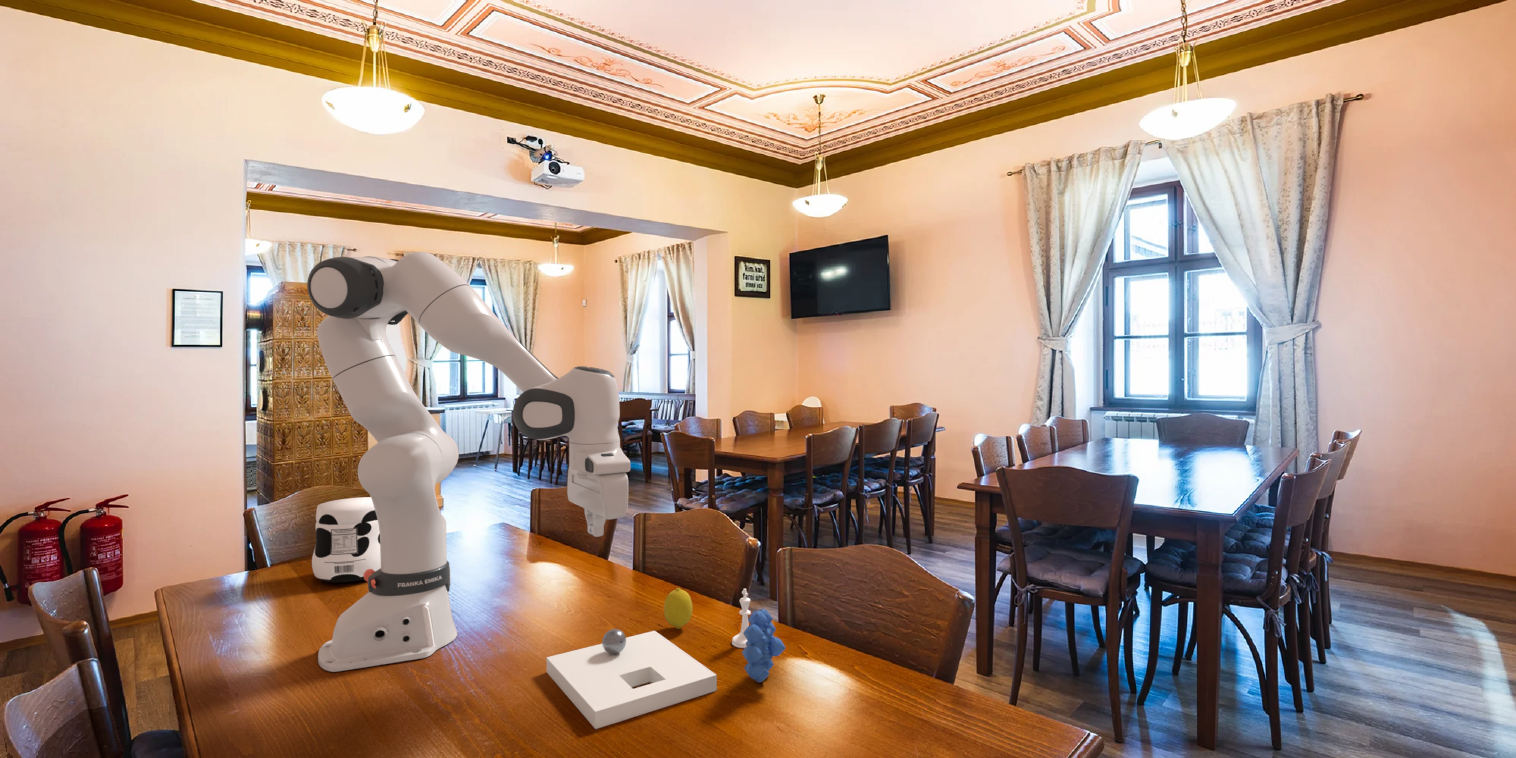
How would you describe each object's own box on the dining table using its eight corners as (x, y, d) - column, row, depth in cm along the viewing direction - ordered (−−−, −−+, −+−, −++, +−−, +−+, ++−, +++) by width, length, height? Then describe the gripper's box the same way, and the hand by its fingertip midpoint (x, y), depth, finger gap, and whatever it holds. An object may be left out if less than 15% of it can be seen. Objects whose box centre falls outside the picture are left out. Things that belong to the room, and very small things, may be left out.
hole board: (595, 729, 98) (595, 711, 98) (546, 672, 116) (546, 657, 116) (716, 690, 109) (716, 674, 109) (654, 644, 127) (654, 630, 127)
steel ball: (607, 660, 115) (607, 636, 115) (598, 651, 118) (598, 628, 118) (630, 654, 117) (630, 630, 117) (620, 646, 120) (620, 623, 120)
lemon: (687, 635, 131) (687, 593, 131) (660, 633, 132) (659, 591, 132) (696, 624, 137) (695, 584, 137) (669, 622, 138) (669, 582, 138)
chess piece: (739, 650, 125) (738, 595, 124) (727, 640, 129) (727, 587, 129) (763, 644, 127) (763, 590, 127) (751, 635, 131) (750, 583, 131)
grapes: (776, 701, 106) (776, 623, 105) (734, 695, 107) (734, 619, 107) (793, 669, 117) (793, 598, 116) (755, 664, 119) (755, 594, 118)
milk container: (374, 562, 181) (372, 493, 180) (408, 573, 171) (406, 501, 170) (299, 579, 167) (298, 504, 166) (332, 593, 157) (330, 514, 156)
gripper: (558, 452, 130) (559, 525, 130) (599, 466, 113) (600, 550, 114) (590, 450, 134) (591, 521, 134) (634, 462, 117) (635, 544, 117)
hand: (595, 534), depth 124 cm, fingers closed
